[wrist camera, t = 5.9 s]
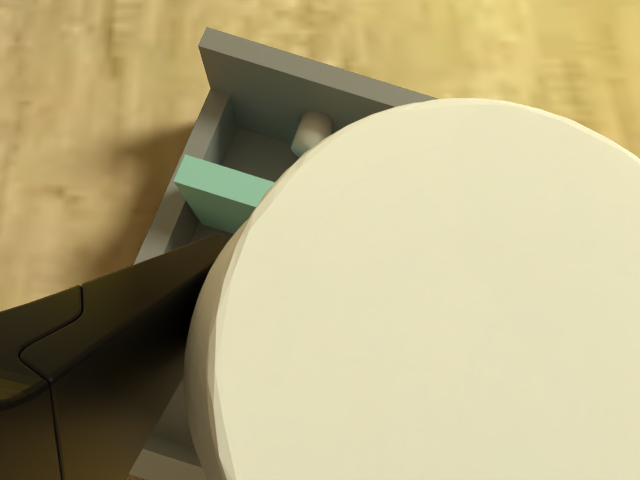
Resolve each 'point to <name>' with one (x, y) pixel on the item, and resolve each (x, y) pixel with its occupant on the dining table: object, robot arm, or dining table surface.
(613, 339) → the supplement bottle
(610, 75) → the dining table surface
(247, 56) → the tray
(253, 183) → the pusher plate
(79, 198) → the dining table surface
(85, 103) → the dining table surface
